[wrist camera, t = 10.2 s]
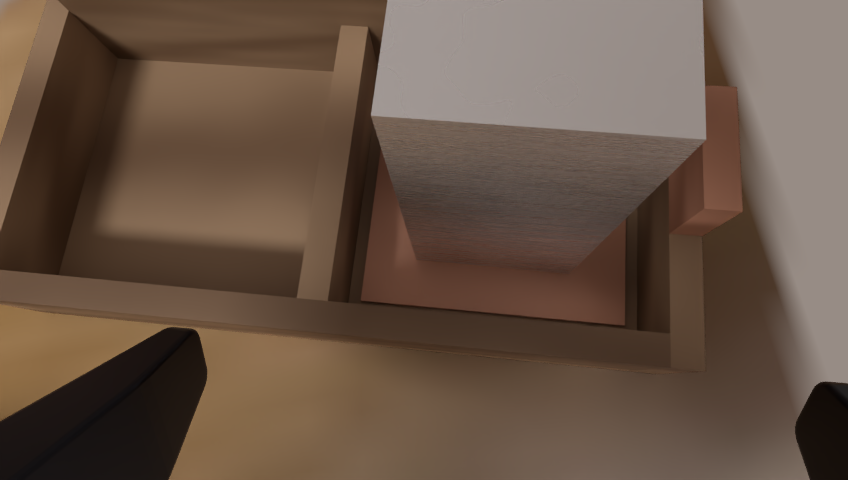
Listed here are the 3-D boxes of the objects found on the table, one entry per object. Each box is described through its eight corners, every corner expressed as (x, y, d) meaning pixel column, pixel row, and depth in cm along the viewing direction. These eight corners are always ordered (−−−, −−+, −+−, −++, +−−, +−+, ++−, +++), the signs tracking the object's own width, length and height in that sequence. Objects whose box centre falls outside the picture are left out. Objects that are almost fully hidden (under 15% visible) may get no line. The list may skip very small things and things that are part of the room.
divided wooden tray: (656, 373, 16) (750, 368, 11) (43, 311, 18) (-127, 281, 12) (654, 82, 18) (731, -34, 13) (115, 50, 20) (-2, -65, 15)
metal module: (569, 273, 16) (706, 139, 7) (416, 259, 16) (370, 116, 8) (575, 132, 17) (699, -131, 8) (431, 122, 17) (407, -141, 9)
